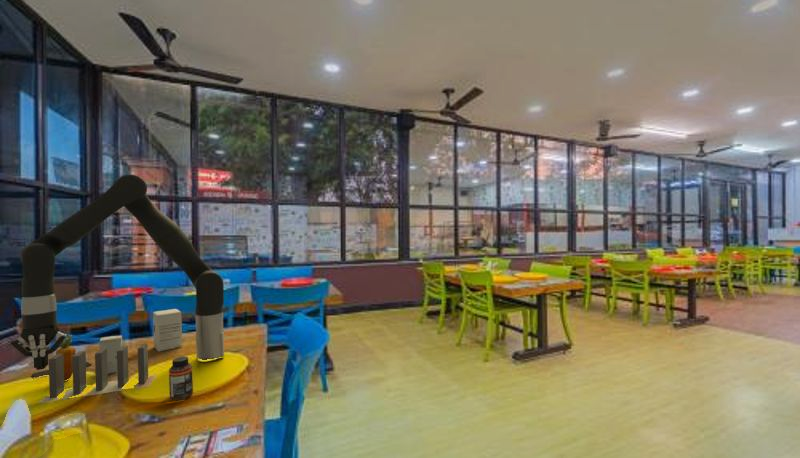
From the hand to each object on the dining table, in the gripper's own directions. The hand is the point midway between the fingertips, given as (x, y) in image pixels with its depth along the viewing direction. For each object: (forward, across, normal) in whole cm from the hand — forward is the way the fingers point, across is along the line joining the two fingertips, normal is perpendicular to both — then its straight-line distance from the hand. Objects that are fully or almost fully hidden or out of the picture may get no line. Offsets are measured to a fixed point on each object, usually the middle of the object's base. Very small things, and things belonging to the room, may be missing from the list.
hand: (41, 368), depth 111 cm
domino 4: (+8, +25, 0) cm, 27 cm away
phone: (+9, -5, +26) cm, 28 cm away
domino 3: (+8, +20, 0) cm, 22 cm away
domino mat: (+9, +14, 0) cm, 17 cm away
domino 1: (+8, +9, 0) cm, 12 cm away
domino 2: (+8, +14, 0) cm, 17 cm away
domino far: (+8, +4, 0) cm, 9 cm away
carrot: (+9, +2, +12) cm, 15 cm away
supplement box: (+9, +25, +40) cm, 48 cm away
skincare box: (+9, +12, +16) cm, 22 cm away
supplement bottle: (+9, +38, -17) cm, 43 cm away
